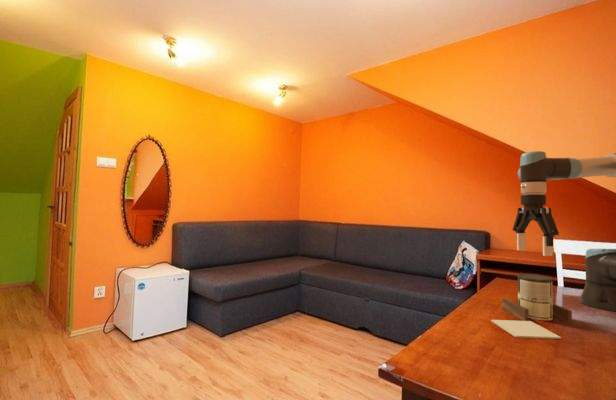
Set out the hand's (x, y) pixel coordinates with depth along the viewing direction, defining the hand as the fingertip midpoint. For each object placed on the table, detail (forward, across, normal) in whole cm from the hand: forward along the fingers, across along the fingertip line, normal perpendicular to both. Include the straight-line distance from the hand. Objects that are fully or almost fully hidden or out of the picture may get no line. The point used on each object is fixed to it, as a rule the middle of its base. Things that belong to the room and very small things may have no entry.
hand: (533, 252), depth 110 cm
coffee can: (+23, 0, 0) cm, 23 cm away
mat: (+22, +14, -13) cm, 29 cm away
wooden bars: (+22, 0, 0) cm, 22 cm away
